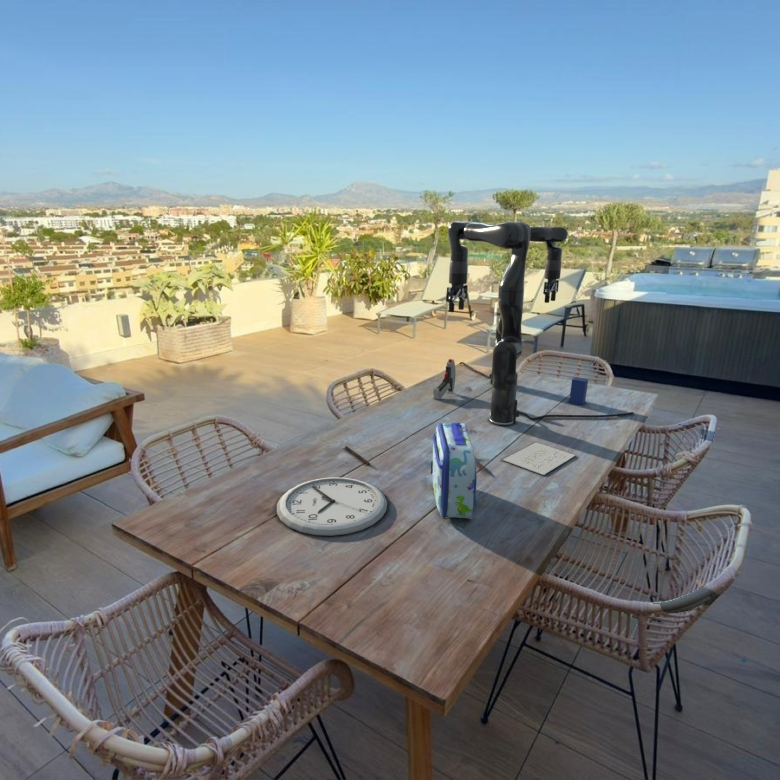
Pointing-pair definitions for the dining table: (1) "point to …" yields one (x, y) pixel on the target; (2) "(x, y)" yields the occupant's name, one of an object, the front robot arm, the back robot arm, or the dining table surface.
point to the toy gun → (446, 381)
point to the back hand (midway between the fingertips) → (549, 301)
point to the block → (578, 391)
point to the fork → (481, 466)
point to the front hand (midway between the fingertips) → (456, 310)
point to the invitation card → (539, 458)
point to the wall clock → (331, 506)
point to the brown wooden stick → (357, 455)
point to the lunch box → (454, 471)
